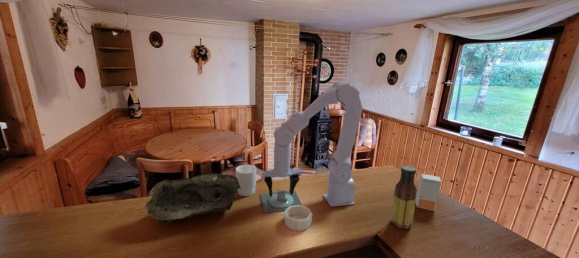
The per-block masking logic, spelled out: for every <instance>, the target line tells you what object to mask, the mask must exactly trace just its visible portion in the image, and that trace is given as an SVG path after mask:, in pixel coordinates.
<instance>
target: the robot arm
mask: <svg viewBox="0 0 579 258" xmlns="http://www.w3.org/2000/svg"><path fill="white" fill-rule="evenodd" d="M339 103H340V105H341V106H342V107H343V108H344V110H345V112H344V116H343V121H342V125H341V130H340V134H339V138H338V142H337V146H336V150H335V152H334V153H332V157H331V159H330V160H329V161H328V164H327V167H328V170H329V172H330V173H329V175H328V180H327V181H328V183H327V193H324V194H323V195H322V196H323V198H324V199H325V200H326V202H327V203H328V205H329V206H330V207H338V206H339V207H340V206H349V205H355V201H354V200H355V198H354V197H355V191H356V183H355V181H354V178H352V167H353V166H352V160H351V159H352V158H351V155H352V151H353V147H354V144H355V140H356V135H357V132H358V128H359V124H360V120H361V117H362V112H363V105H362V101H361V98H360V91H359V90H358V88H357V87H356V86H355V85H354V84H353V83H346V82H344V81H340V80H339V81H336V82H334V83H333V84H332V85H330V86H329V87H327V88H326V89H325V90H324V91H323V93H321V94H320V95H319V96H318V97H317V98H316V99H315V100H314V101H313V102H312V103H311V104H310V105H308V106H307V107H306V108H305V109H304V110H303V111H296V112H292V113H291V116H290V118H288V119H287V120H286V121H284V122H282V123H281V124H280V125H279V126H277V127H276V128H275V130H274V132H273V137H274V144H273V145H274V147H273V169H269V170H266V171H265V170H264V171H261V172H260V177H261V179H262V180H264V182H265V184H266V186H267V188H268V193H269V195H270V197H272V193H273V179H272V178H287V177H289V191H290V194H291V195H293V191H295V188H296V186H297V184H298V183H299V182H300V177H302V170H301V168H291V166H290V165H291V142H292V140H293V138H294V137H295V136H297V135H298V134H299V133H300V132H301V131H303V129H305V128H306V127H308V125H309V123H310V119H312V117H314V116H315V115H316V114H318V113H319V112H320V111H321V110H322V109H323V110H324V108H325V107H326V106H328V105H337V104H339Z"/></svg>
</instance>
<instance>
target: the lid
mask: <svg viewBox="0 0 579 258" xmlns="http://www.w3.org/2000/svg"><path fill="white" fill-rule="evenodd" d="M285 191H286V190H284V189H278V190H277V191H276V192H277V194H273V195H272V197H269V204H270V205H271V206H273V207H276V208H287V207H289V206H291V205H292V204H293V202H294V199H293V197H292V196H290V195H289V194H285Z"/></svg>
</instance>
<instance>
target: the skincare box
mask: <svg viewBox="0 0 579 258" xmlns="http://www.w3.org/2000/svg"><path fill="white" fill-rule="evenodd" d="M442 183H443V182H442V180H441V177H440V176H435V175H431V174H425V173H421V174H420V179H419V183H418V187H417V188H418V189H417V191H416V201H415V207H416V208H419V209H422V210H423V209H425V210H428V211H431V212H435V210H436V206H437V203H438V199H439V194H440V190H441V186H442Z"/></svg>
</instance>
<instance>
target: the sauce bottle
mask: <svg viewBox="0 0 579 258" xmlns="http://www.w3.org/2000/svg"><path fill="white" fill-rule="evenodd" d="M400 172H401V173H400V178H399V180H398V182H397V183H396V184H395V188H394V193H393V194H394V195H393V200H392V210H391V223H392V225H394V226H395V227H397V228H399V229H402V230H409V229H410V228H411V227H412V224H413V220H414V214H415V207H416V197H417V192H418V189H417V187H416V183H415V181H414V180H415V176H416V172H417V169H416V168H415V167H414V166H410V165H403V166H401V169H400Z"/></svg>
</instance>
